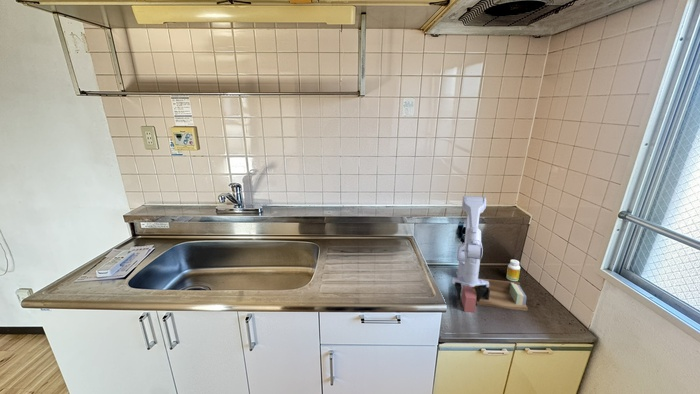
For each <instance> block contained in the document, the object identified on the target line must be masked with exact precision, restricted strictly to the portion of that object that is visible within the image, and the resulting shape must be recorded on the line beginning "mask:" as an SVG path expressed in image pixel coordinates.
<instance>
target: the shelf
mask: <svg viewBox="0 0 700 394" xmlns="http://www.w3.org/2000/svg"><path fill="white" fill-rule="evenodd" d="M480 279H481V280H486V281H488V282H489V289H490V295H489V300H483V299H480V300H479V302H477V299H476V306H479V307H480V306H481V307H490V308H498V309H500V308H501V309H507V310H517V311H527V312H528V311H529V308H528V306H527V303H526V304H525V305H517V304H516V303H515V302H514V300H513V298H512V296H511V294H510V293H509V291H510V284H511V283H514V284H517V285H520V286H521V282H519V281H511V280H498V279H489V278H488V279H487V278H480ZM472 288H473V291H474V294H475V296H476V297H477V293H476V291H475V288H478V286H474V287H472Z"/></svg>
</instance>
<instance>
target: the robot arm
mask: <svg viewBox="0 0 700 394" xmlns="http://www.w3.org/2000/svg"><path fill="white" fill-rule="evenodd" d="M461 201H462V202H461V203H462V204H461V209H462V211H464V212H466V213H465V214H466V221H465V222H466V223H465V232H464V233H465V234H464V242H463V243H461V244H459V245H458V246H457V252H456V253H457V255H456V260H457V261H458V268H457V270H456V271H455V273H456V277H451V283H452V285H454V287H455V289H456V293H457V300H459V301H460V300H461V294H462V285H465V286H470V287H474V286H478V289H477V297H476V299H477V302H479V300H480V298H481V296H482V295H483V294H484V293H485V292H486V287H489V282H488V281H485V280H481V279H482V278H479V275H480V273H479V272H480V266H481V265H480V263H481V259H482V258H483V255H484V254H483V251H484V249H483V248H484V247H483V243H482V231H481V229H480V228H479V223H480V215H481V214H482V213H484V211H485V210H486V208H487V198H486V196H472V195H464V196H462V200H461Z"/></svg>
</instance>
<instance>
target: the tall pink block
mask: <svg viewBox="0 0 700 394" xmlns="http://www.w3.org/2000/svg"><path fill="white" fill-rule="evenodd" d="M461 288H462V289H461V293H460V300H461V305H462V308H463V311H464V312H465V313H471V314H472V313H473V314H475V311H476V306H477V304H476V296H475V294H474V291H473V288H472V287H470V286H469V285H465V284H461Z"/></svg>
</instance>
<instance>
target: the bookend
mask: <svg viewBox="0 0 700 394" xmlns="http://www.w3.org/2000/svg"><path fill="white" fill-rule="evenodd" d="M485 281H486V280H485ZM477 289H478V288H475V291H476V293H477ZM489 295H490V289H489V287H486V292H485V293H484V294H483V295H482V296H481V298H480V299H483V300H489Z"/></svg>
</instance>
